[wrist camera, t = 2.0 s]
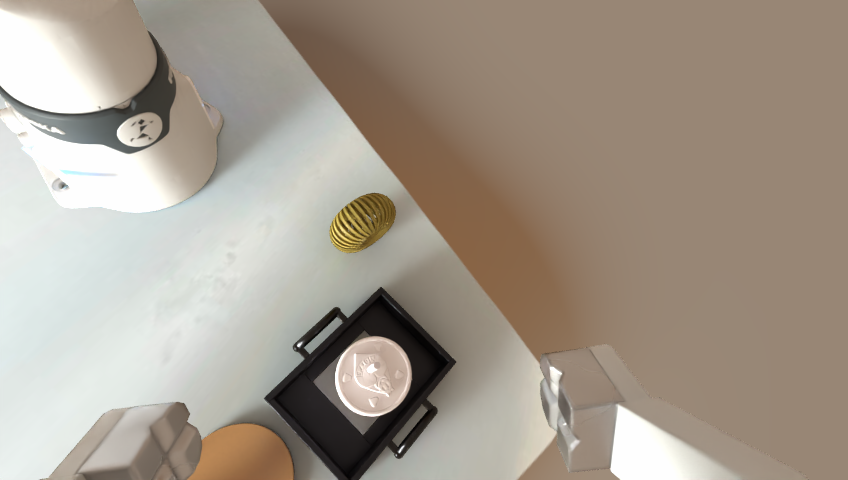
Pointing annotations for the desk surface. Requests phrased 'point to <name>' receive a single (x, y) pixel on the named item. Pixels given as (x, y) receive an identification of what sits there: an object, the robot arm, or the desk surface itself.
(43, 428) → the desk surface
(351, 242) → the sculpture
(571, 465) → the robot arm
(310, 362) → the pan
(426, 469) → the desk surface
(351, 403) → the smoothie
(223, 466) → the cork pad
